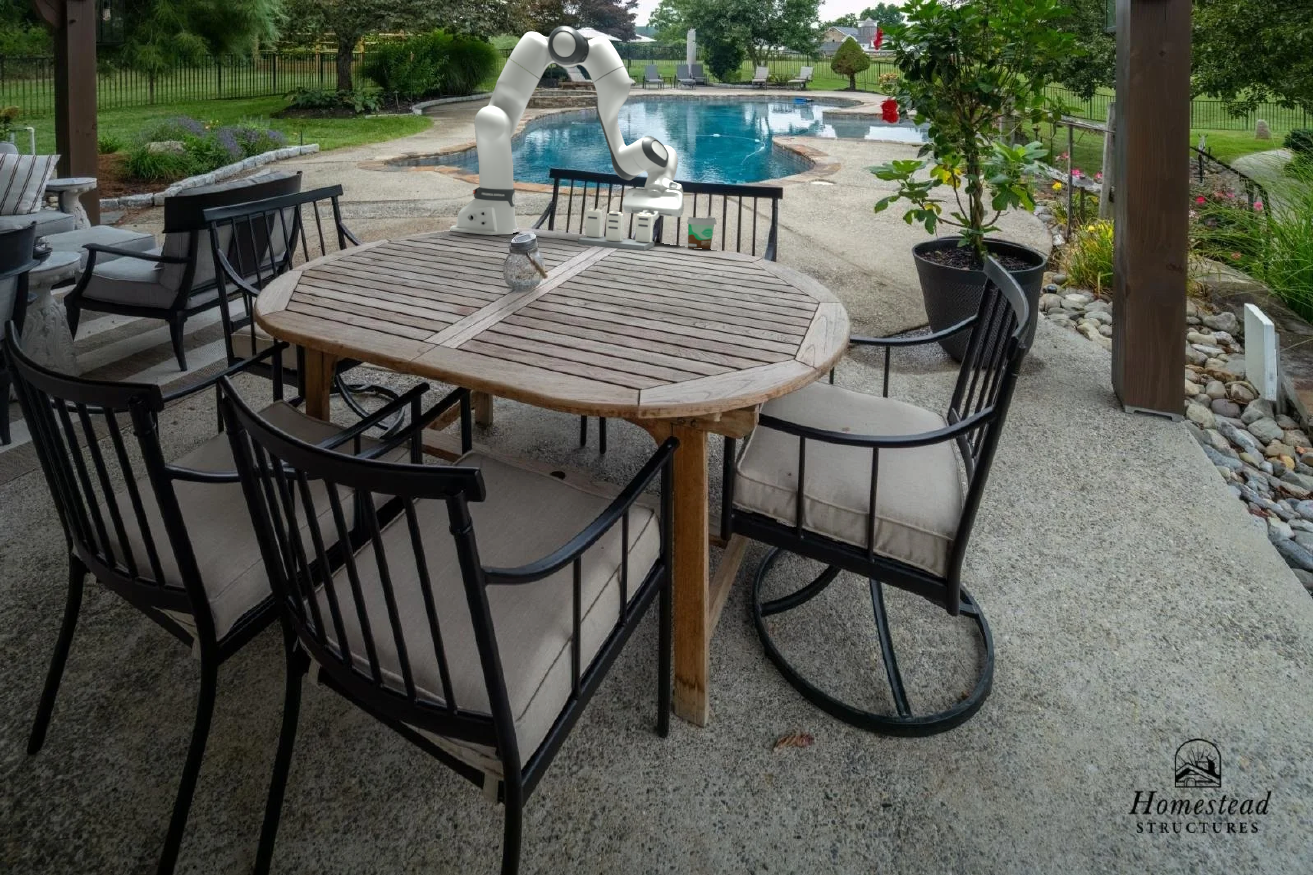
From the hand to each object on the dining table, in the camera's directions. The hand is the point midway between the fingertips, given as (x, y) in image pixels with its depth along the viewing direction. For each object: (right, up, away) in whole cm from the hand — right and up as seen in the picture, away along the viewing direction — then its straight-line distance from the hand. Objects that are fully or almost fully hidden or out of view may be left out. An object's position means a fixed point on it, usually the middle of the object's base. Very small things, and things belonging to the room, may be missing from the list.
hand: (648, 223), depth 243 cm
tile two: (-1, -6, -2) cm, 7 cm away
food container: (+18, -7, +4) cm, 20 cm away
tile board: (-10, -7, -1) cm, 13 cm away
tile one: (-18, -4, +2) cm, 18 cm away
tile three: (-11, -7, -4) cm, 13 cm away
